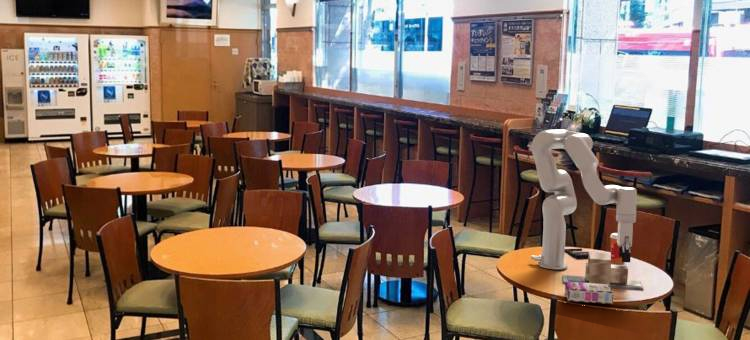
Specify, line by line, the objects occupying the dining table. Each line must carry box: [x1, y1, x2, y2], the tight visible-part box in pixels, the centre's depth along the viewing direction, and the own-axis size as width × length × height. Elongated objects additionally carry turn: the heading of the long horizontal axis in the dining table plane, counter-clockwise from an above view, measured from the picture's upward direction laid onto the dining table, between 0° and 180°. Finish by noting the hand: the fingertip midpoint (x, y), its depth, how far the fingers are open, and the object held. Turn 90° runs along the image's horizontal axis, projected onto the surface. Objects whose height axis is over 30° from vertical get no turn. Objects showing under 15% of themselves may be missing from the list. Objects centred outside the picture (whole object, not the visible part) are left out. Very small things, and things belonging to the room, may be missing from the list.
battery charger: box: [564, 248, 590, 260], centre depth 333 cm, size 13×10×4 cm
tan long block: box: [562, 251, 644, 291], centre depth 292 cm, size 31×12×12 cm, turn 77°
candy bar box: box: [564, 282, 614, 305], centre depth 271 cm, size 11×5×16 cm
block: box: [584, 262, 629, 284], centre depth 292 cm, size 16×6×6 cm, turn 77°
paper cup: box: [609, 232, 625, 264], centre depth 324 cm, size 8×8×14 cm
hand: (624, 259), depth 290 cm, fingers open, 9 cm apart
